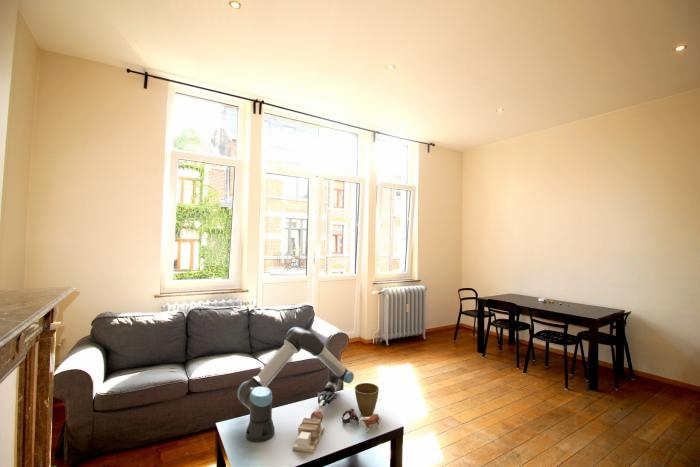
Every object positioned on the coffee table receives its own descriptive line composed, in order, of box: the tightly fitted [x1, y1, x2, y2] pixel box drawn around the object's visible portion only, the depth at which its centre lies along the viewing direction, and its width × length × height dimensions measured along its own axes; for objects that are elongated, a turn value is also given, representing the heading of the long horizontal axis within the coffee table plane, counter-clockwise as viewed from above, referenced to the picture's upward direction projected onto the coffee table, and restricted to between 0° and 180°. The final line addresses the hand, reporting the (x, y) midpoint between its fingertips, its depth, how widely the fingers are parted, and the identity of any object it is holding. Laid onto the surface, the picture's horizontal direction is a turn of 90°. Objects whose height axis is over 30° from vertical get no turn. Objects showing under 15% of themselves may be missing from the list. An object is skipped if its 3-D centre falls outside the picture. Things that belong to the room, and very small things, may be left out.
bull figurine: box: [359, 413, 380, 434], centre depth 188 cm, size 4×13×8 cm, turn 122°
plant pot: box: [354, 382, 380, 418], centre depth 205 cm, size 15×15×16 cm
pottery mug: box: [341, 408, 360, 426], centre depth 195 cm, size 12×10×8 cm
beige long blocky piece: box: [291, 417, 325, 454], centre depth 177 cm, size 20×11×8 cm, turn 170°
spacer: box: [297, 431, 311, 449], centre depth 169 cm, size 6×5×5 cm
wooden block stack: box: [305, 410, 324, 432], centre depth 183 cm, size 20×7×7 cm, turn 170°
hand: (320, 407), depth 199 cm, fingers closed
